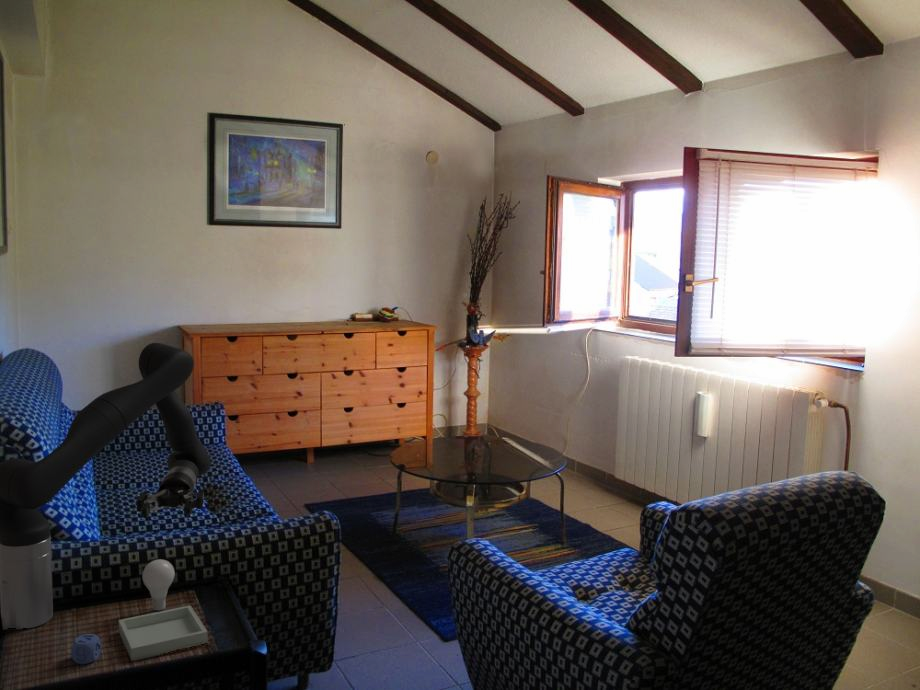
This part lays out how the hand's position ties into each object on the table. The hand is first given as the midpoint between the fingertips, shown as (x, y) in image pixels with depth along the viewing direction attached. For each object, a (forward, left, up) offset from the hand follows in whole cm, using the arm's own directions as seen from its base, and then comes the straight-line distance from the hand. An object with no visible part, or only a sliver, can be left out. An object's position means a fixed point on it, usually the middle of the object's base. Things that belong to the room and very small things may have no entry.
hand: (165, 513), depth 181 cm
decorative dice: (-20, -23, -18) cm, 35 cm away
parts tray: (-6, -22, -18) cm, 29 cm away
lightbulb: (-4, -9, -18) cm, 21 cm away
